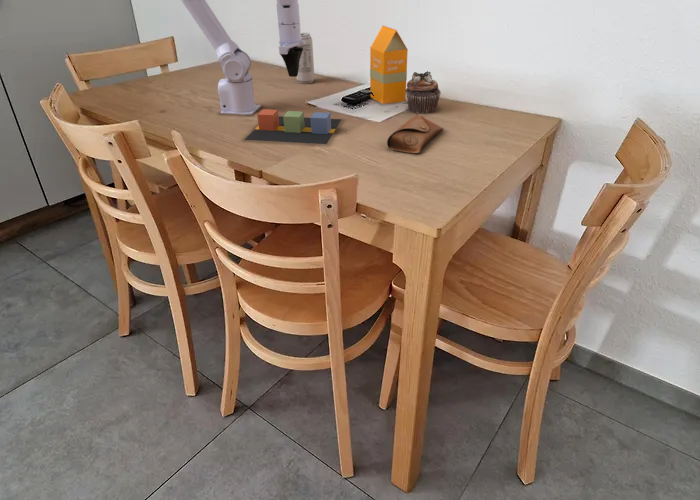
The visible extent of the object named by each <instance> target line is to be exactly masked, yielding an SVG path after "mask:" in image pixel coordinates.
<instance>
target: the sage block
mask: <svg viewBox="0 0 700 500" xmlns="http://www.w3.org/2000/svg"><path fill="white" fill-rule="evenodd" d="M282 117H283V119H284V129H285V132H291V133H301V132H302V130H303V129H304V128H305V124H304V118H305V113H304V111H299V110H298V111H297V110H296V111H295V110H287V112H286V113H284V115H283V116H282Z"/></svg>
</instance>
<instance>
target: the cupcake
mask: <svg viewBox="0 0 700 500" xmlns="http://www.w3.org/2000/svg"><path fill="white" fill-rule="evenodd" d="M432 75H433V74H432V73H431V71H428V70H427V71H425V72H424V73H418V72H417V71H414V72H413V73H412V75H411V79H410V80H408V81H407V82H406V101H407V107H408V110H409V111H410V112H413V113H416V114H418V113H419V114H431V113H434V112H436V111H437V108H438V105H439V100H440V97H441V94H442V91H441V90H440V89H439V83H438V82H437V81H436V80H435V79H433V77H432Z"/></svg>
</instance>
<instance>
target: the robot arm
mask: <svg viewBox="0 0 700 500" xmlns="http://www.w3.org/2000/svg"><path fill="white" fill-rule="evenodd" d="M180 1H181V2H182V4H183V5H184V7H185V8H186V10H187V11H188V13H189V14H190V15H191V17H192V18H193V20H194V21H195V23H196V24H197V26H198V27H199V29H200V30H201V32H202V33H203V34H204V36H205V38H206V39H207V40H208V41H209V43H210V45H211V46H212V47H213V49H214V50H215V53H216V56H217V60H218V62H219V64H220V65H221V70H222V73H223V76H224V77H225V78H221V79H219V81H218V82H217V93H218V99H219V105H220V114H223V115H224V114H225V115H246V116H247V115H248V116H251V115H253V114H254V113H255V112H256V111H257V110H258V109H260V108H261V107H262V105H261V104H256V100H255V99H256V98H255V91H254V84H253V83H254V82H253V76H252V75H251V73H250V71H249V70H250V69H251V67H252V60H251V58H250V56H249V54H248V53H246V52H245V51H244V50H242V48H241V47H240V46H239V45H238V43H236V42H235V41H234V40H232V39H231V37H230V36H229V34H228V32H227V30H225V28H224V26H223V25H222V24H221V22H220V21H219V19H218V18H217V15H216V14H215V13H214V11H213V10H212V8H211V7H210V5H209V4H208V2H207V0H180ZM276 13H277V25H278V27H277V28H278V36H279V41H278V44H279V46H278V53H279V55H280V56H281V58H282V60H283V62H284V65H285V67H286V71H287V74H288V76H289V78H290V77H291V78H294V77H295V78H297V75H298V70H299V62H300V57H301V54H302V52H303V47H297V46H298V45H301V44H305V43H306V41H305V40H302V38H301V33H302V31H301V19H300V18H301V17H300V5H299V1H298V0H276Z"/></svg>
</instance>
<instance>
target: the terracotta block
mask: <svg viewBox="0 0 700 500" xmlns="http://www.w3.org/2000/svg"><path fill="white" fill-rule="evenodd" d="M256 115H257V123H258V125H257V126H259V130H267V131H275V130H276V129H277V128H278V126H279V117H280V116H279V109H267V108H263V109H261V110H260V111H259V112H258V113H257V114H256Z"/></svg>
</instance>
